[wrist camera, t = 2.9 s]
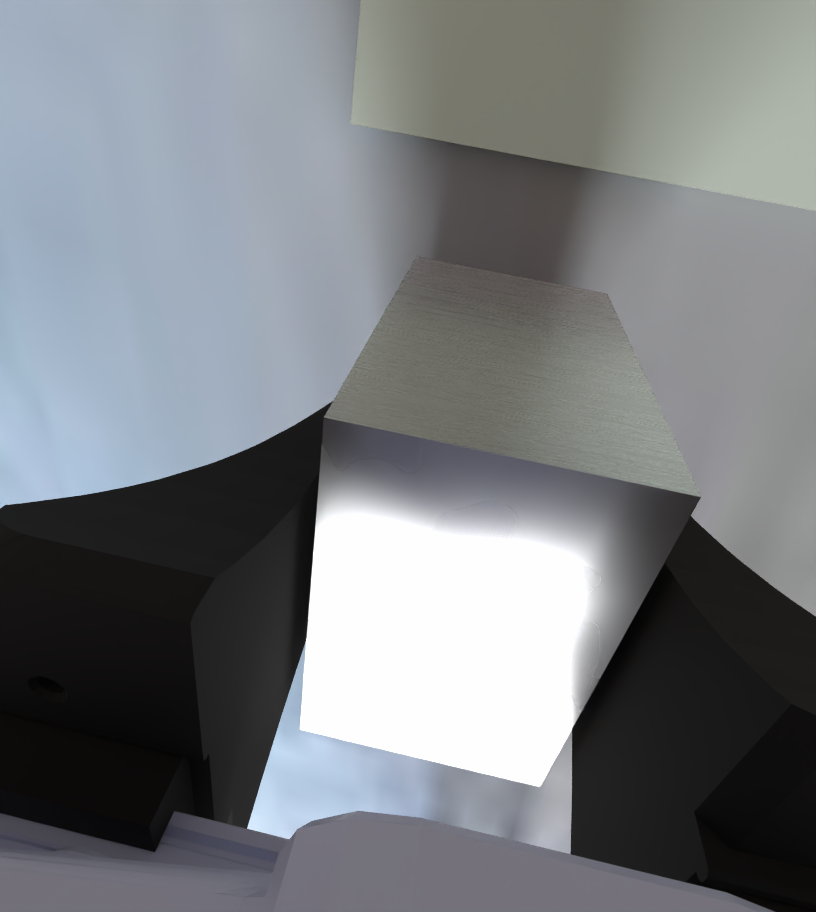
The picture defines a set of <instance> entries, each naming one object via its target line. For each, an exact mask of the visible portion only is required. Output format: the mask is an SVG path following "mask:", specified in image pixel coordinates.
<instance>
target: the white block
mask: <svg viewBox="0 0 816 912" xmlns="http://www.w3.org/2000/svg"><path fill="white" fill-rule="evenodd" d="M700 498H701V496H700V494H699V492H698V489H697V487H696V485H695V483H694V481H693V479H692V476H691V474H690V472H689V470H688V468H687V466H686V463H685V461H684V459H683V457H682V455H681V452H680V450H679V448H678V446H677V444H676V442H675V439H674V437H673V435H672V433H671V431H670V429H669V426H668V424H667V422H666V420H665V418H664V416H663V413H662V411H661V409H660V407H659V405H658V402H657V400H656V398H655V396H654V394H653V392H652V389H651V387H650V385H649V383H648V381H647V379H646V376H645V374H644V372H643V370H642V368H641V366H640V363H639V361H638V359H637V357H636V355H635V352H634V350H633V348H632V346H631V344H630V342H629V339H628V337H627V335H626V333H625V331H624V329H623V326H622V324H621V322H620V320H619V318H618V316H617V313H616V311H615V309H614V307H613V305H612V302H611V300H610V298H609V296H608V294H606V293H601V292H596V291H591V290H586V289H581V288H576V287H571V286H566V285H561V284H555V283H550V282H545V281H540V280H535V279H530V278H525V277H520V276H515V275H510V274H504V273H499V272H494V271H489V270H484V269H479V268H474V267H469V266H464V265H458V264H453V263H448V262H443V261H438V260H433V259H428V258H423V257H418V256H416V258H415V260H414V262H413V263H412V265H411V267H410V269H409V270H408V272H407V274H406V276H405V277H404V279H403V281H402V283H401V284H400V286H399V288H398V289H397V291H396V293H395V295H394V296H393V298H392V300H391V302H390V303H389V305H388V307H387V309H386V310H385V312H384V314H383V316H382V317H381V319H380V321H379V322H378V324H377V326H376V328H375V329H374V331H373V333H372V335H371V336H370V338H369V340H368V342H367V343H366V345H365V347H364V348H363V350H362V352H361V354H360V355H359V357H358V359H357V361H356V362H355V364H354V366H353V368H352V369H351V371H350V373H349V375H348V376H347V378H346V380H345V381H344V383H343V385H342V387H341V388H340V390H339V392H338V394H337V395H336V397H335V399H334V401H333V402H332V404H331V406H330V408H329V409H328V411H327V413H326V414H325V416H324V421H323V434H322V447H321V460H320V473H319V486H318V499H317V512H316V525H315V538H314V551H313V565H312V578H311V591H310V604H309V617H308V630H307V643H306V656H305V669H304V682H303V695H302V708H301V721H300V730H304V731H308V732H312V733H317V734H321V735H325V736H329V737H333V738H338V739H342V740H346V741H350V742H354V743H359V744H363V745H367V746H371V747H376V748H380V749H384V750H388V751H392V752H397V753H401V754H405V755H409V756H413V757H418V758H422V759H426V760H430V761H434V762H439V763H443V764H447V765H451V766H455V767H460V768H464V769H468V770H472V771H477V772H481V773H485V774H489V775H493V776H498V777H502V778H506V779H510V780H514V781H519V782H523V783H527V784H531V785H535V786H540V785H541V784H542V782H543V780H544V778H545V776H546V775H547V773H548V771H549V769H550V767H551V766H552V764H553V762H554V760H555V758H556V757H557V755H558V753H559V751H560V749H561V748H562V746H563V744H564V742H565V740H566V739H567V737H568V735H569V733H570V732H571V730H572V728H573V726H574V724H575V723H576V721H577V719H578V717H579V715H580V714H581V712H582V710H583V708H584V706H585V705H586V703H587V701H588V699H589V697H590V696H591V694H592V692H593V690H594V688H595V687H596V685H597V683H598V681H599V679H600V678H601V676H602V674H603V672H604V670H605V669H606V667H607V665H608V663H609V661H610V660H611V658H612V656H613V654H614V652H615V651H616V649H617V647H618V645H619V643H620V642H621V640H622V638H623V636H624V634H625V633H626V631H627V629H628V627H629V625H630V624H631V622H632V620H633V618H634V616H635V615H636V613H637V611H638V609H639V608H640V606H641V604H642V602H643V600H644V599H645V597H646V595H647V593H648V591H649V590H650V588H651V586H652V584H653V582H654V581H655V579H656V577H657V575H658V573H659V572H660V570H661V568H662V566H663V564H664V563H665V561H666V559H667V557H668V555H669V554H670V552H671V550H672V548H673V546H674V545H675V543H676V541H677V539H678V537H679V536H680V534H681V532H682V530H683V528H684V527H685V525H686V523H687V521H688V519H689V518H690V516H691V514H692V512H693V510H694V509H695V507H696V505H697V503H698V501H699V500H700Z"/></svg>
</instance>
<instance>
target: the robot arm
mask: <svg viewBox="0 0 816 912" xmlns="http://www.w3.org/2000/svg"><path fill="white" fill-rule="evenodd" d="M332 402H333V401H332ZM332 402H331V403H329V404H328V405H326V406H325V407H323V408H322V409H320V410H318V411H317V412H315V413H314V414H312V415H311V416H309V417H307V418H306V419H304V420H302V421H301V422H299V423H297V424H296V425H294V426H292V427H290V428H288V429H287V430H285V431H283V432H281V433H279V434H277V435H275V436H273V437H271V438H270V439H268V440H266V441H264V442H262V443H260V444H258V445H256V446H253V447H251V448H249V449H247V450H244V451H242V452H240V453H237V454H235V455H232V456H230V457H227V458H225V459H222V460H219V461H217V462H214V463H211V464H208V465H205V466H202V467H199V468H195V469H192V470H189V471H186V472H182V473H179V474H176V475H172V476H169V477H166V478H162V479H159V480H155V481H151V482H146V483H142V484H138V485H134V486H129V487H124V488H119V489H114V490H109V491H104V492H99V493H93V494H87V495H82V496H74V497H67V498H59V499H52V500H44V501H37V502H29V503H22V504H12V505H5V506H3V507H2V508H1V509H0V912H816V617H815V616H814V615H812V614H811V613H810V612H808V611H807V610H805V609H804V608H802V607H801V606H799V605H798V604H796V603H795V602H793V601H792V600H791V599H789V598H788V597H786V596H785V595H784V594H782V593H781V592H779V591H778V590H777V589H775V588H774V587H773V586H771V585H770V584H769V583H768V582H766V581H765V580H764V579H762V578H761V577H760V576H759V575H757V574H756V573H755V572H754V571H752V570H751V569H750V568H748V567H747V566H746V565H745V564H743V563H742V562H741V561H740V560H738V559H737V558H736V557H735V556H734V555H733V554H731V553H730V552H729V551H728V550H727V549H726V548H724V547H723V546H722V545H721V544H720V543H719V542H718V541H717V540H716V539H714V538H713V537H712V536H711V535H710V534H709V533H708V532H707V531H706V530H705V529H704V528H702V527H701V526H700V525H699V524H698V523H697V522H696V521H695V520H694V519H693V518H692V517H691V516H690V518H689V519H688V521H687V523H686V525H685V527H684V528H683V530H682V532H681V534H680V536H679V537H678V539H677V541H676V543H675V545H674V546H673V548H672V550H671V552H670V554H669V555H668V557H667V559H666V561H665V563H664V564H663V566H662V568H661V570H660V572H659V573H658V575H657V577H656V579H655V581H654V582H653V584H652V586H651V588H650V590H649V591H648V593H647V595H646V597H645V599H644V600H643V602H642V604H641V606H640V608H639V609H638V611H637V613H636V615H635V616H634V618H633V620H632V622H631V624H630V625H629V627H628V629H627V631H626V633H625V634H624V636H623V638H622V640H621V642H620V643H619V645H618V647H617V649H616V651H615V652H614V654H613V656H612V658H611V660H610V661H609V663H608V665H607V667H606V669H605V670H604V672H603V674H602V676H601V678H600V679H599V681H598V683H597V685H596V687H595V688H594V690H593V692H592V694H591V696H590V697H589V699H588V701H587V703H586V705H585V706H584V708H583V710H582V712H581V714H580V715H579V717H578V719H577V721H576V723H575V724H574V726H573V728H572V820H571V854H567V853H563V852H559V851H554V850H550V849H546V848H542V847H538V846H534V845H530V844H526V843H522V842H518V841H513V840H509V839H505V838H501V837H497V836H493V835H489V834H485V833H481V832H477V831H473V830H468V829H464V828H460V827H456V826H452V825H448V824H444V823H440V822H436V821H432V820H427V819H423V818H417V817H408V816H399V815H390V814H381V813H372V812H364V811H356V812H351V813H346V814H342V815H337V816H333V817H328V818H324V819H319V820H314V821H311V822H310V823H308V824H306V825H304V826H303V827H301V828H299V829H297V831H296V832H295V833H294V835H293V836H292V837H291V838H290V839H285V838H281V837H277V836H273V835H269V834H265V833H261V832H257V831H253V830H249V829H247V827H248V823H249V820H250V816H251V813H252V810H253V806H254V803H255V800H256V796H257V793H258V790H259V786H260V783H261V780H262V776H263V773H264V770H265V767H266V763H267V760H268V757H269V754H270V751H271V747H272V744H273V741H274V738H275V734H276V731H277V728H278V725H279V722H280V718H281V715H282V712H283V709H284V706H285V703H286V700H287V697H288V694H289V690H290V687H291V684H292V681H293V678H294V675H295V672H296V669H297V666H298V663H299V660H300V657H301V654H302V651H303V648H304V645H305V642H306V639H307V630H308V617H309V604H310V591H311V578H312V565H313V551H314V538H315V525H316V512H317V499H318V486H319V473H320V460H321V447H322V434H323V421H324V416H325V414H326V413H327V411H328V409H329V408H330V406H331V404H332Z"/></svg>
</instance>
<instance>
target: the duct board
mask: <svg viewBox="0 0 816 912" xmlns="http://www.w3.org/2000/svg"><path fill="white" fill-rule="evenodd" d="M351 124H355V125H360V126H365V127H371V128H376V129H381V130H387V131H392V132H397V133H403V134H408V135H413V136H419V137H424V138H429V139H435V140H440V141H445V142H451V143H456V144H461V145H467V146H472V147H477V148H483V149H488V150H494V151H499V152H504V153H510V154H515V155H520V156H526V157H531V158H536V159H542V160H547V161H552V162H558V163H563V164H568V165H574V166H579V167H584V168H590V169H595V170H600V171H606V172H611V173H616V174H622V175H627V176H632V177H638V178H643V179H648V180H654V181H659V182H664V183H670V184H675V185H680V186H686V187H691V188H696V189H702V190H707V191H712V192H718V193H723V194H728V195H734V196H739V197H744V198H750V199H755V200H760V201H766V202H771V203H776V204H782V205H787V206H792V207H798V208H803V209H808V210H814V211H816V0H361V1H360V14H359V26H358V38H357V50H356V63H355V75H354V87H353V99H352V111H351Z"/></svg>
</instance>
